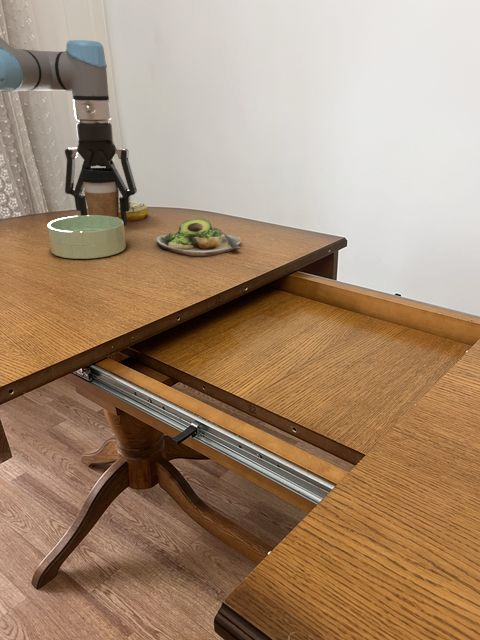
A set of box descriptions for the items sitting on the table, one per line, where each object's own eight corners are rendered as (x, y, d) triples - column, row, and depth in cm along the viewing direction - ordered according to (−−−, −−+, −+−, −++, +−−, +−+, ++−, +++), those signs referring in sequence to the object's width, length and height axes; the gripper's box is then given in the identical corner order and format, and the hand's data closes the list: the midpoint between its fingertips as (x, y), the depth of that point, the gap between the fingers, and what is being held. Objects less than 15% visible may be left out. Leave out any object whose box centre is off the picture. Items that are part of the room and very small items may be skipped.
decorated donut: (118, 213, 150) (116, 199, 148) (154, 215, 148) (153, 201, 146) (99, 221, 141) (98, 206, 139) (138, 224, 139) (136, 209, 137)
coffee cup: (81, 232, 130) (72, 167, 123) (112, 227, 135) (106, 164, 129) (99, 239, 125) (91, 171, 118) (131, 234, 130) (125, 168, 123)
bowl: (41, 261, 109) (36, 231, 107) (64, 241, 123) (60, 214, 120) (117, 262, 110) (114, 232, 107) (131, 242, 124) (129, 215, 121)
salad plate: (264, 248, 121) (265, 228, 119) (204, 265, 109) (203, 243, 107) (206, 232, 132) (205, 213, 130) (146, 246, 121) (144, 225, 119)
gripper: (38, 121, 115) (54, 227, 125) (139, 123, 116) (147, 229, 126) (50, 119, 122) (64, 220, 132) (145, 121, 123) (152, 221, 133)
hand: (105, 224), depth 129 cm, fingers open, 8 cm apart
